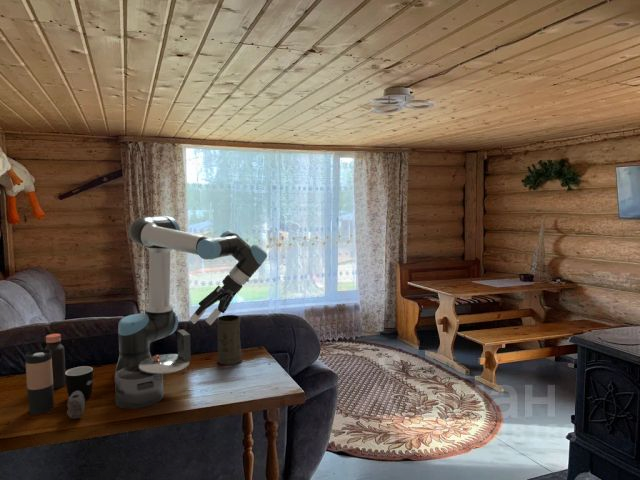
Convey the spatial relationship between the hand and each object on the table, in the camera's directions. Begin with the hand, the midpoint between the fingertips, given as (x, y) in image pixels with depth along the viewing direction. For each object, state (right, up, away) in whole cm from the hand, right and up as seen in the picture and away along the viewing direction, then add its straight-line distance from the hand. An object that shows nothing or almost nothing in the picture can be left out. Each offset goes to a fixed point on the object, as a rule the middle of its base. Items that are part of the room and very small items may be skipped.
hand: (200, 322), depth 173 cm
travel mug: (-49, -27, -19) cm, 59 cm away
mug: (-41, -26, -8) cm, 49 cm away
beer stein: (+6, -22, +29) cm, 37 cm away
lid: (-11, -15, -6) cm, 20 cm away
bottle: (-56, -25, +1) cm, 61 cm away
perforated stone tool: (-36, -27, -21) cm, 50 cm away
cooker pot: (-19, -26, -11) cm, 34 cm away
